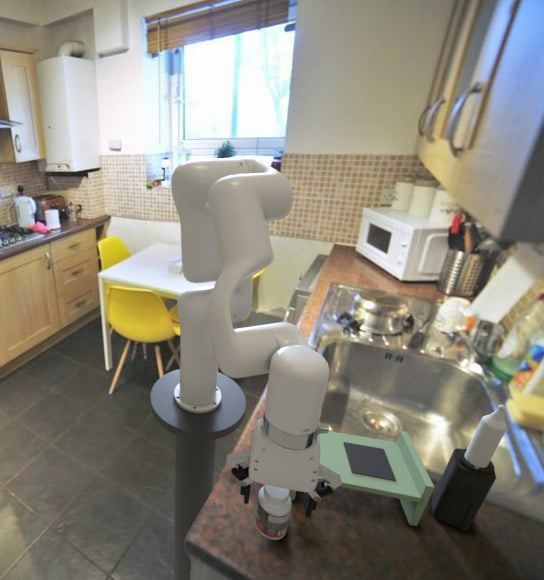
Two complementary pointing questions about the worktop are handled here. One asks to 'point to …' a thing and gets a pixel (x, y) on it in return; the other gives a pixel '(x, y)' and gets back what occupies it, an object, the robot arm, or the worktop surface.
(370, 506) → the worktop surface
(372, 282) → the worktop surface
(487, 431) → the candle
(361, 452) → the shelf
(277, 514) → the pill bottle
